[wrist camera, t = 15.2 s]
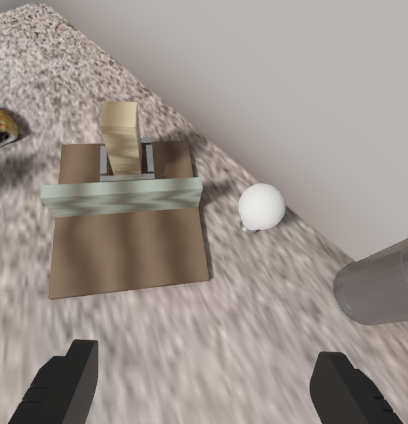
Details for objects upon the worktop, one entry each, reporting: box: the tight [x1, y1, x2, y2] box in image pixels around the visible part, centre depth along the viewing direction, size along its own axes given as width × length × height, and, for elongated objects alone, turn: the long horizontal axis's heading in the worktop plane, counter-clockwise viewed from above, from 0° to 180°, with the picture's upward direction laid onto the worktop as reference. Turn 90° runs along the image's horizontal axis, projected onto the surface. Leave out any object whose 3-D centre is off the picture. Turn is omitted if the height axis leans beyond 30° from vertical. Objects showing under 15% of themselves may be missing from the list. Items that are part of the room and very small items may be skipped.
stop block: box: [100, 101, 142, 176], centre depth 43 cm, size 4×4×12 cm
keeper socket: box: [100, 138, 155, 182], centre depth 47 cm, size 8×8×2 cm
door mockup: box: [40, 141, 209, 300], centre depth 43 cm, size 22×26×7 cm
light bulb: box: [239, 184, 286, 234], centre depth 42 cm, size 7×7×11 cm
